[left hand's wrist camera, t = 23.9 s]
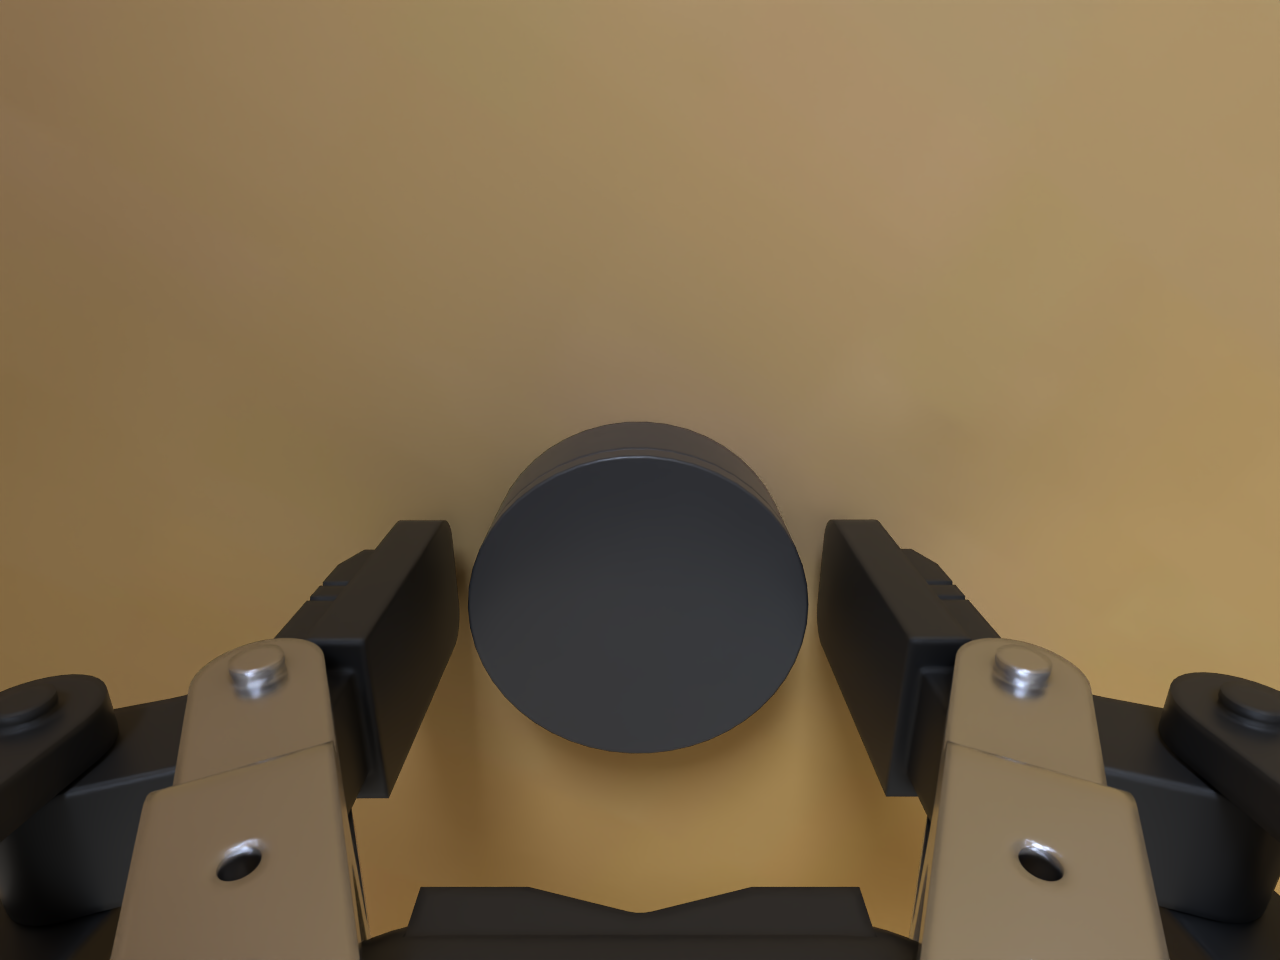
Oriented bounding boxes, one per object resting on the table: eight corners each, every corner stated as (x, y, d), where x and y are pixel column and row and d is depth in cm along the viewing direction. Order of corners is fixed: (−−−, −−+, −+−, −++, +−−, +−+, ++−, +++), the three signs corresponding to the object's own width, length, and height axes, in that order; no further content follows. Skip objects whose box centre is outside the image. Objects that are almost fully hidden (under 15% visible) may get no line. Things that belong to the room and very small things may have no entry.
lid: (840, 498, 12) (874, 545, 10) (701, 723, 13) (710, 795, 12) (562, 368, 11) (548, 394, 9) (449, 622, 13) (419, 684, 11)
